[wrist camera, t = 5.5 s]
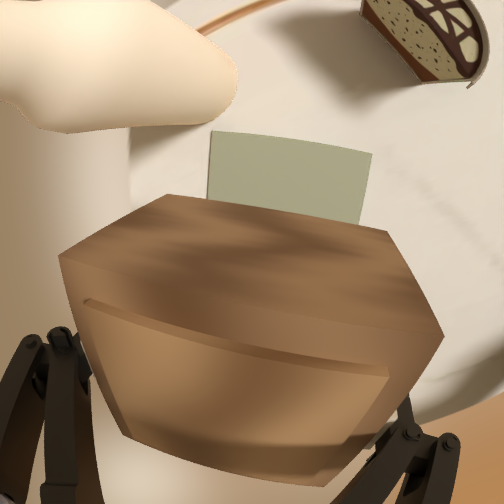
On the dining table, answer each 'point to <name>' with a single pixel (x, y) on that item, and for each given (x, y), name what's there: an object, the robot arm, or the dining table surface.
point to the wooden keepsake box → (249, 334)
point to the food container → (433, 37)
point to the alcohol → (109, 66)
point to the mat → (288, 175)
